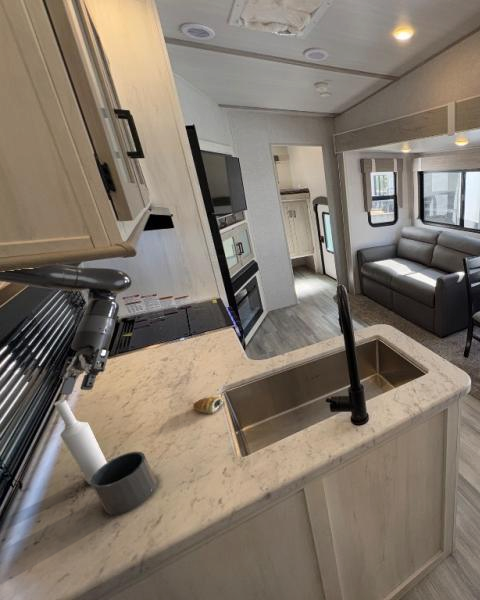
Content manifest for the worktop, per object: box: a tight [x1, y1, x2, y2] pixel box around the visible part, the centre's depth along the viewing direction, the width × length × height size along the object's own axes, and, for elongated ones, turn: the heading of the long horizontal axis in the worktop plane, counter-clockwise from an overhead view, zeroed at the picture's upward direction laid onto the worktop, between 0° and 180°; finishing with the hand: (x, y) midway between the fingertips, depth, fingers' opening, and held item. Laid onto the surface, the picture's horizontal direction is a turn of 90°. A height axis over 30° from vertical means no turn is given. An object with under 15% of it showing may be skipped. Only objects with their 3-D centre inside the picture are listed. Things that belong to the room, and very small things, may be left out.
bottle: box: [53, 398, 108, 485], centre depth 80 cm, size 5×5×25 cm
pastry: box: [192, 395, 224, 414], centre depth 109 cm, size 9×7×4 cm
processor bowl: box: [90, 451, 158, 516], centre depth 77 cm, size 10×10×9 cm
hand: (75, 392), depth 81 cm, fingers open, 8 cm apart
